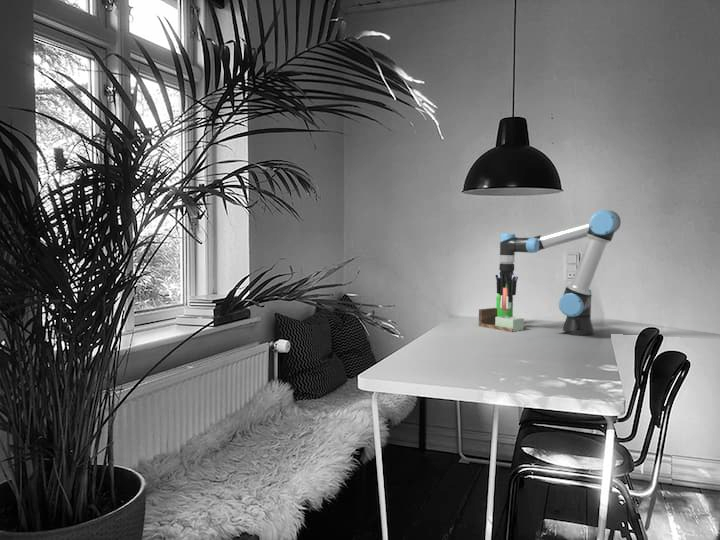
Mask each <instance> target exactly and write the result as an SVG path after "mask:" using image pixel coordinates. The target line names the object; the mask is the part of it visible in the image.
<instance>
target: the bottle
mask: <svg viewBox="0 0 720 540" xmlns="http://www.w3.org/2000/svg"><path fill="white" fill-rule="evenodd" d="M505 288H507V283H506V286H505ZM500 306H501V301H500V295H499V294H498V293H497V296H496V305H495V308H497V317H499V316H511V317H514V316H513V315H514V314H513V313H514V311H513V310H514V308H513V307H514V295H513V296H512V302H511V308H510V309H509V311H502V308H500Z"/></svg>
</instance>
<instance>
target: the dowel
mask: <svg viewBox="0 0 720 540" xmlns="http://www.w3.org/2000/svg"><path fill="white" fill-rule="evenodd" d="M507 295H508V291H507V288H503V305H502V311H509V309H506V302H507Z"/></svg>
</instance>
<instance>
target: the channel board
mask: <svg viewBox="0 0 720 540" xmlns="http://www.w3.org/2000/svg"><path fill="white" fill-rule="evenodd" d="M495 317H497V308H496V307H490V308H489V307H488V308H482V309H479V308H478V327H482V328H488V329H493V330H498V331H503V332H508V333H515V332H518V331H513V329H511V328H505V327H500V326H495ZM521 331H529V330H528V326H524V328H523V330H520V332H521Z"/></svg>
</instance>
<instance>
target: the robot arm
mask: <svg viewBox="0 0 720 540" xmlns="http://www.w3.org/2000/svg"><path fill="white" fill-rule="evenodd" d="M621 223H622V222H621V217H620V216H619V214H618V213H617V212H615V211H613V210H607V209H600V210H597V211H596V212H594V213H593V214H592V215H591V216H590V218H589V220H587V221H586V220H585V221H583V222H580V223H577V224H573V225H570V226H567V227H563V228H559V229H557V230H552V231H549V232H546V233H543V234H540V235H536V236H533V237H531V236H530V237H517V236H516V233H501V234H500V241H499V265H498V266H499V271H500V272H499V274H495V279H496V294H497V295H498V294H499V295H500V301H501V306H500V308H502V305H503V288H505V286H506V283H507V291H508V295H507V302H506V309H510V308H511V302H512V296H513V297H514V296H516V293H517V282H518V279H519V276H517V275H515V274H514V271H515V264H514V263H515V255H516V253H529V254H534V253H535V254H536V253H538V252H539V251H541V250H544V249H549V248H552V247H555V246H559V245H562V244H566V243H570V242H573V241H577V240H581V239H583V238H584V239H585V238H588V239H587V242H586V244H585V246H584V249H583V251H582V255H581V257H580V259H579V262H578V264H577V267H576V270H575V273H574V274H573V278H572V281H571V283H569V284H568V285H566V287H565V289H564V293H563V295H561V297H560V298H559V300H558V308H559V310H560V312H561V313H562V314H563V315H565V316H566V318H565V321H564V324H563V327H562V333H563V334H566V335H573V336H593V335H594V334H595V330H594V326H593V322H592V319H591V317H592V316H591V314H592V297H593V295H592V290H591V289H590V287H591V284H592V282H593V279H594V277H595V274H596V271H597V269H598V266H599V263H600V261H601V259H602V255H603V254H604V251H605V248H606V246H607V244H608V243H611V242H612V240H613V238H614V234H615V233H616V232H617V231H618V230H619V229H620V227H621Z"/></svg>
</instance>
